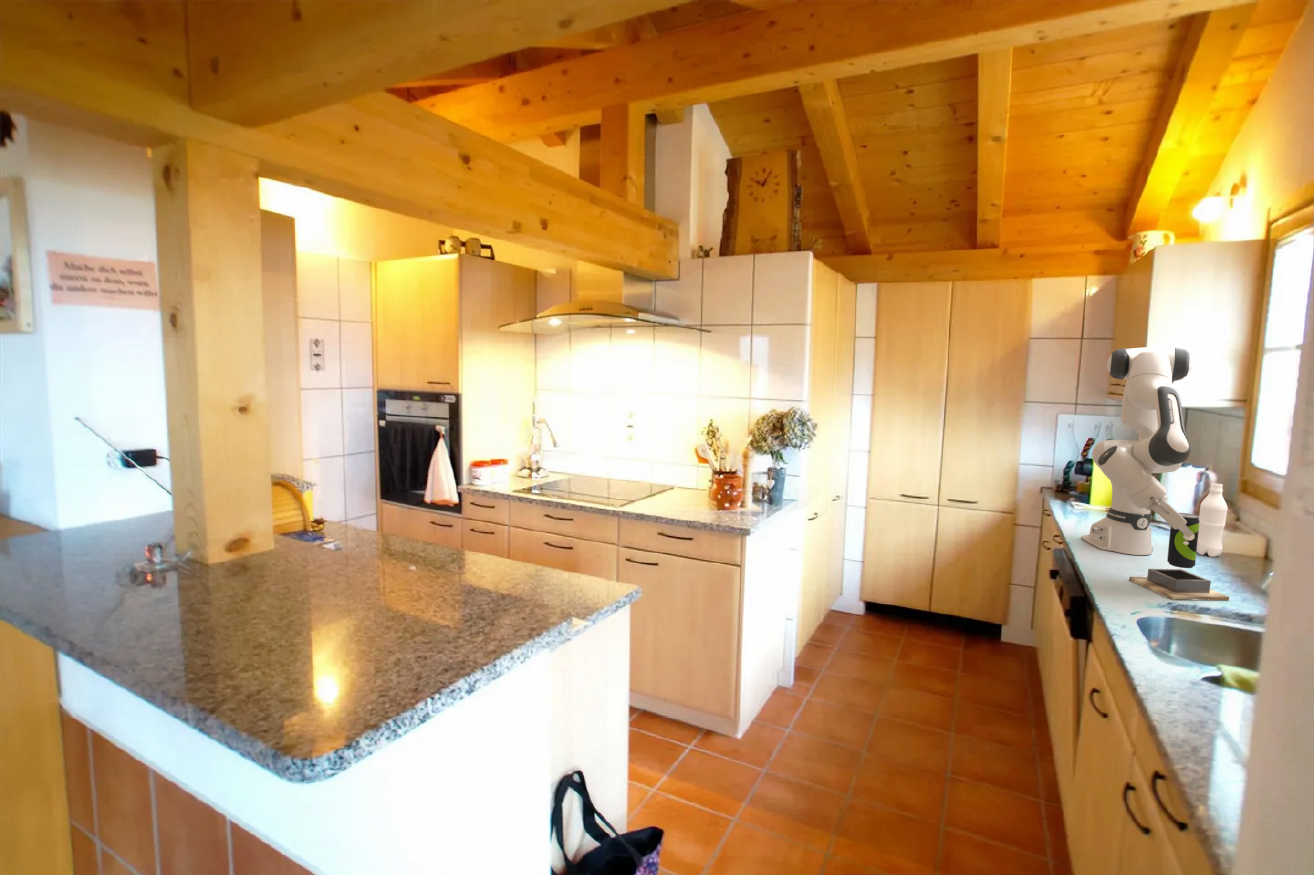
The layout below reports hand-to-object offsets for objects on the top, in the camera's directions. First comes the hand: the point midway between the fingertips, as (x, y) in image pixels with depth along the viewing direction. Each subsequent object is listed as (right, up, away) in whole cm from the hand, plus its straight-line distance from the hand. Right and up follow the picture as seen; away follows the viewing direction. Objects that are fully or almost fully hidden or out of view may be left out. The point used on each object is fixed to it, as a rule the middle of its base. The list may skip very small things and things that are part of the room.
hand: (1186, 532), depth 181 cm
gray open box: (-1, -17, +3) cm, 17 cm away
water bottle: (+38, -14, +37) cm, 55 cm away
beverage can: (-1, -10, +1) cm, 10 cm away
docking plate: (-1, -17, +3) cm, 17 cm away
